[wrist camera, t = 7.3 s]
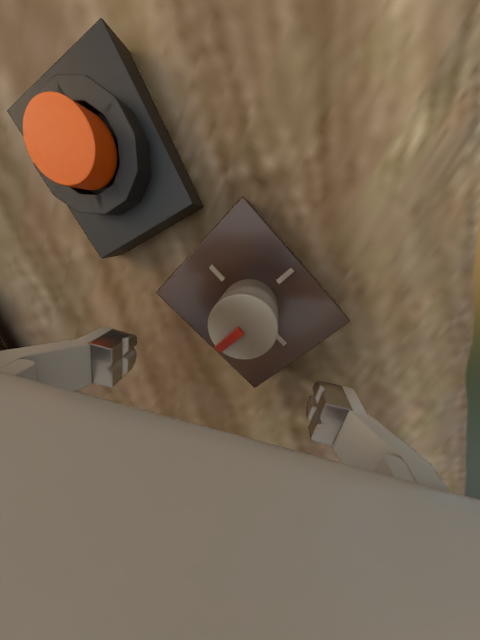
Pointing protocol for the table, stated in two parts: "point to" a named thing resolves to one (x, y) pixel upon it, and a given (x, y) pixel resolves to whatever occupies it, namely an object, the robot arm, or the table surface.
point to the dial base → (259, 264)
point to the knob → (244, 320)
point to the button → (69, 142)
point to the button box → (118, 146)
